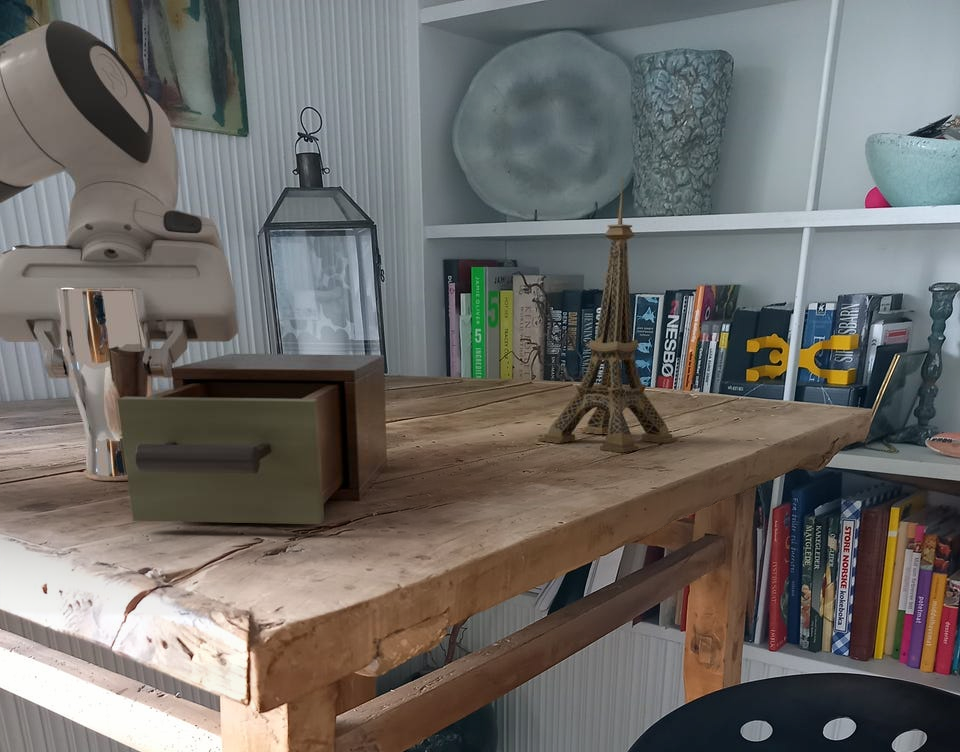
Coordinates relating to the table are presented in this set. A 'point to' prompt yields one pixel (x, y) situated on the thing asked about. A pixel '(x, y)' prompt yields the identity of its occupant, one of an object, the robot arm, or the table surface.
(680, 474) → the table surface
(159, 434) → the drawer
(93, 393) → the beer glass
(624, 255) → the eiffel tower
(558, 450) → the table surface
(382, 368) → the cabinet
